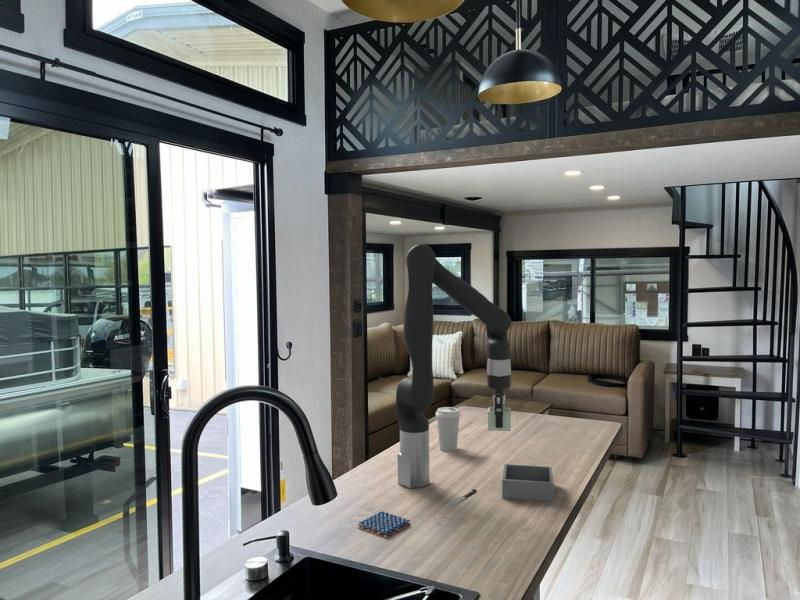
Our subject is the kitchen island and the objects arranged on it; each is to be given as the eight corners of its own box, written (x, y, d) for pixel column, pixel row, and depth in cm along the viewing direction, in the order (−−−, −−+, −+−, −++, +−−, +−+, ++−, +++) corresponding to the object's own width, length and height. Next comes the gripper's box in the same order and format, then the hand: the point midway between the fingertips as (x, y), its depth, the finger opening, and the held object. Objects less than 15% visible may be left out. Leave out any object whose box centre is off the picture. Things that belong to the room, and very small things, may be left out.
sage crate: (510, 431, 181) (510, 412, 181) (488, 430, 183) (487, 411, 182) (510, 426, 187) (510, 407, 187) (488, 425, 189) (488, 407, 188)
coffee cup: (461, 452, 214) (461, 412, 213) (436, 452, 214) (435, 412, 213) (459, 444, 223) (459, 406, 223) (435, 445, 224) (434, 406, 223)
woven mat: (381, 516, 160) (381, 509, 160) (412, 526, 153) (411, 519, 153) (355, 529, 152) (355, 522, 152) (386, 541, 145) (386, 533, 145)
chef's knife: (434, 512, 163) (443, 513, 161) (434, 508, 163) (443, 509, 161) (468, 490, 178) (477, 492, 176) (468, 487, 178) (477, 488, 176)
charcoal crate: (553, 502, 167) (553, 483, 167) (502, 498, 170) (502, 479, 170) (551, 484, 181) (551, 466, 181) (504, 480, 185) (504, 463, 184)
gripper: (488, 368, 192) (488, 418, 193) (485, 376, 178) (486, 430, 179) (511, 368, 190) (511, 419, 191) (510, 377, 176) (511, 431, 177)
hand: (499, 424), depth 185 cm, fingers closed on sage crate, 6 cm apart
